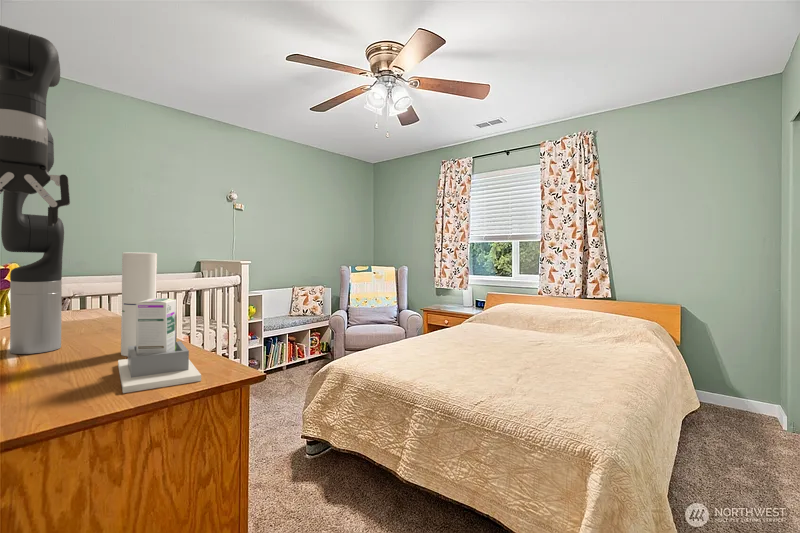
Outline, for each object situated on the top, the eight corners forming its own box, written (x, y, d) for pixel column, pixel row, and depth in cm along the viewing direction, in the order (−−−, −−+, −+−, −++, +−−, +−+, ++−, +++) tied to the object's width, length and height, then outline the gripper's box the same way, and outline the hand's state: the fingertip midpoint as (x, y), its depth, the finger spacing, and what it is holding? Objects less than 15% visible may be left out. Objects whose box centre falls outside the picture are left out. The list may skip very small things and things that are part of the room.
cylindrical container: (138, 357, 93) (139, 253, 92) (113, 354, 94) (114, 252, 93) (162, 350, 100) (163, 253, 99) (138, 347, 101) (140, 252, 100)
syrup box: (166, 371, 80) (167, 301, 80) (134, 371, 79) (135, 301, 79) (176, 363, 86) (177, 298, 85) (147, 363, 85) (148, 297, 84)
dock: (118, 365, 87) (118, 342, 86) (183, 357, 95) (184, 336, 94) (122, 393, 71) (123, 365, 71) (201, 380, 79) (201, 355, 79)
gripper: (71, 150, 81) (70, 228, 82) (-30, 135, 72) (-29, 222, 73) (69, 143, 75) (68, 227, 76) (-41, 126, 66) (-40, 221, 67)
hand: (20, 224), depth 74 cm, fingers open, 8 cm apart
